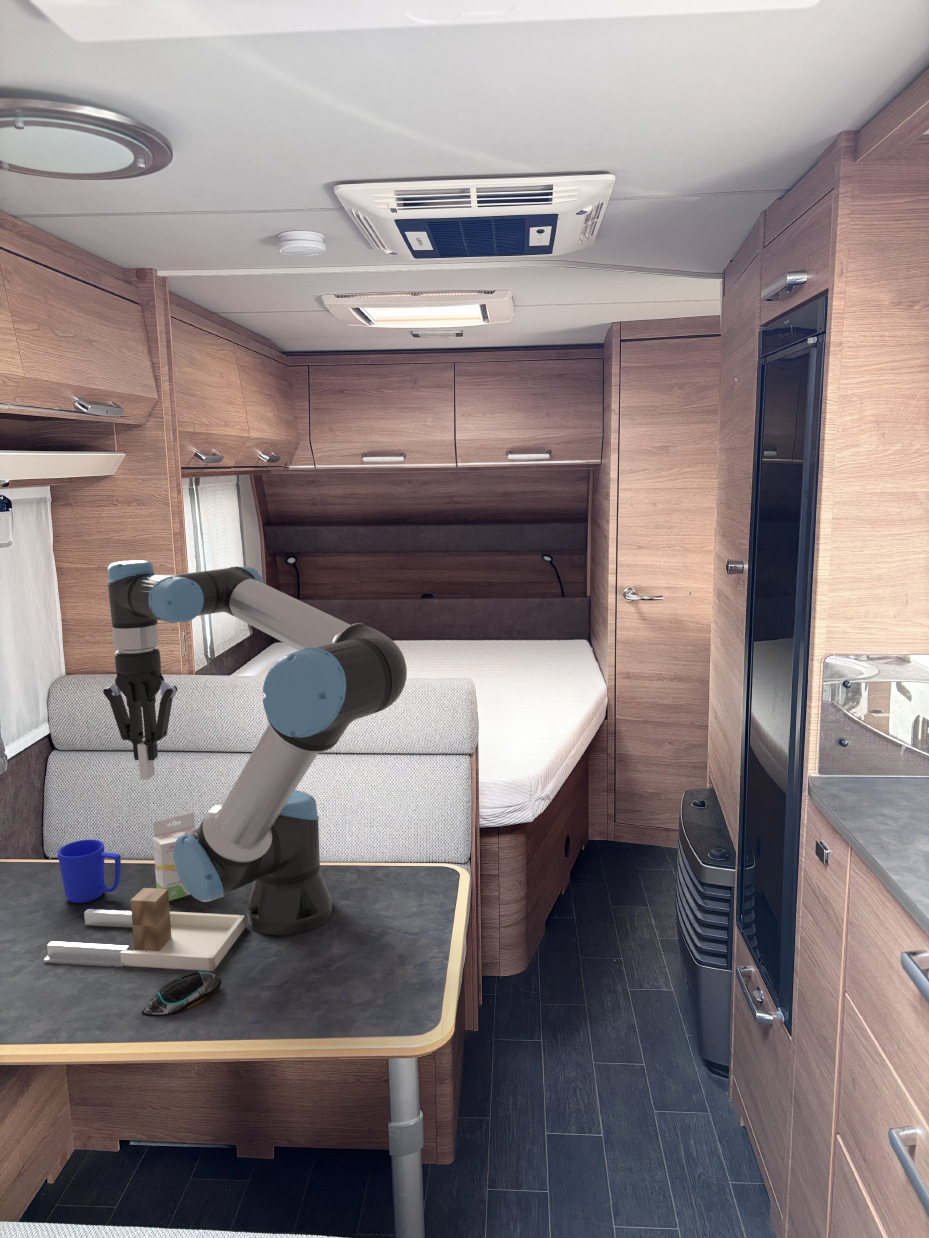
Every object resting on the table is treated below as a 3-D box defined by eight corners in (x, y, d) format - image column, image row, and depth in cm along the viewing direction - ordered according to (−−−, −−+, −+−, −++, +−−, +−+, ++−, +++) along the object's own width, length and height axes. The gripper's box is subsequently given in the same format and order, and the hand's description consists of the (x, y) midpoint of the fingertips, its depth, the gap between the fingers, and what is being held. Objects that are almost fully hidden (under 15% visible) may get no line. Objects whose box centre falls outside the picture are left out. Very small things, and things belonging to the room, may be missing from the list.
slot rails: (164, 922, 160) (163, 909, 160) (122, 967, 146) (121, 953, 145) (92, 918, 162) (91, 905, 162) (44, 962, 148) (42, 948, 147)
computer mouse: (137, 1006, 136) (134, 981, 135) (215, 980, 142) (213, 956, 141) (147, 1026, 130) (144, 1001, 130) (228, 999, 137) (226, 974, 136)
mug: (110, 910, 165) (105, 860, 163) (52, 905, 167) (47, 855, 166) (135, 890, 173) (130, 841, 171) (79, 885, 175) (75, 837, 174)
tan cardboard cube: (147, 935, 155) (171, 937, 155) (134, 949, 151) (159, 950, 150) (145, 911, 154) (169, 913, 154) (132, 924, 150) (157, 926, 149)
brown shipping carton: (145, 911, 154) (169, 913, 154) (132, 924, 150) (157, 926, 149) (143, 887, 154) (167, 888, 153) (130, 900, 149) (155, 901, 149)
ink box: (164, 903, 167) (158, 829, 165) (156, 893, 171) (150, 821, 169) (209, 890, 172) (203, 818, 170) (199, 880, 176) (194, 810, 174)
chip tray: (245, 927, 158) (245, 915, 157) (213, 971, 144) (212, 958, 144) (161, 923, 160) (160, 910, 159) (121, 965, 146) (120, 952, 146)
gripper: (181, 644, 159) (190, 770, 163) (112, 644, 160) (123, 769, 164) (163, 653, 151) (173, 784, 155) (90, 653, 153) (102, 783, 157)
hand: (147, 776), depth 160 cm, fingers closed
